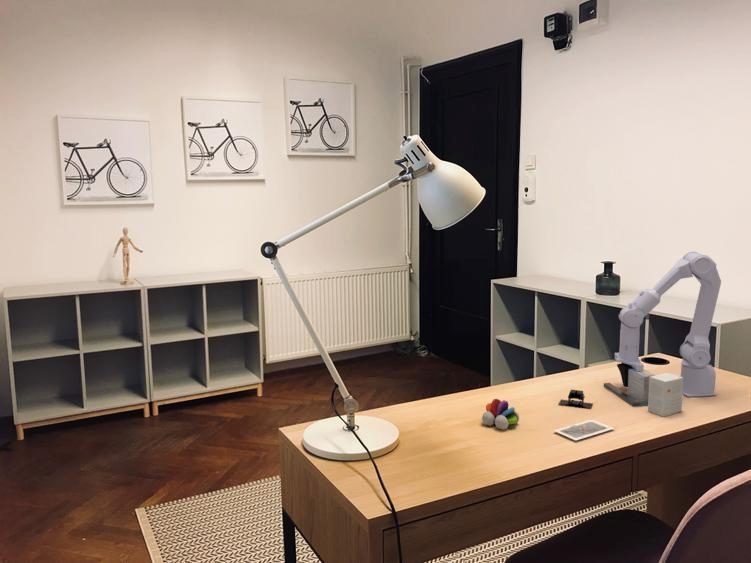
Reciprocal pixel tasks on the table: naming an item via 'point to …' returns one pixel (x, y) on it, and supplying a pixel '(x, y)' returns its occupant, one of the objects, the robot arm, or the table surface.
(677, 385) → the small box
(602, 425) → the touchpad
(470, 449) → the table surface
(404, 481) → the table surface
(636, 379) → the medicine box
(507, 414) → the bunch of balls
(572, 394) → the black ring bracket
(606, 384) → the track
